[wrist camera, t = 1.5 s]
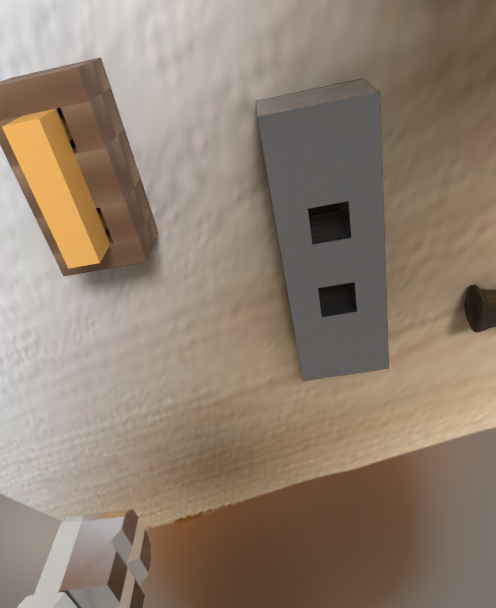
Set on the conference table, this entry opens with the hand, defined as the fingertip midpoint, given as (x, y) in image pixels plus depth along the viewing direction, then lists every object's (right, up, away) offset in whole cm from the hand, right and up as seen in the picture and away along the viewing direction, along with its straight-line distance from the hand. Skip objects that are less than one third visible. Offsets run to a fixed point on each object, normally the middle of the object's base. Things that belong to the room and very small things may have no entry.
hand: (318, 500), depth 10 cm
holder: (-14, +16, +28) cm, 35 cm away
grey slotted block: (+5, +11, +31) cm, 33 cm away
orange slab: (-14, +16, +27) cm, 34 cm away
